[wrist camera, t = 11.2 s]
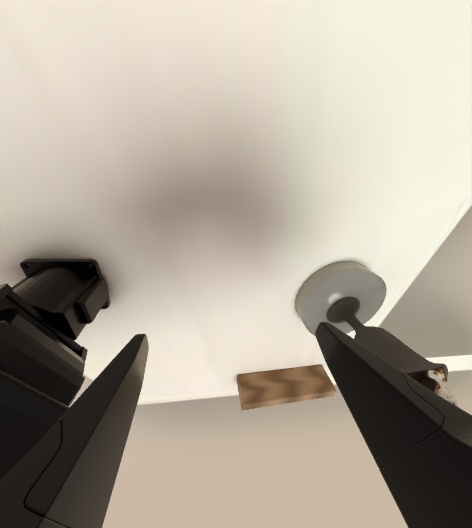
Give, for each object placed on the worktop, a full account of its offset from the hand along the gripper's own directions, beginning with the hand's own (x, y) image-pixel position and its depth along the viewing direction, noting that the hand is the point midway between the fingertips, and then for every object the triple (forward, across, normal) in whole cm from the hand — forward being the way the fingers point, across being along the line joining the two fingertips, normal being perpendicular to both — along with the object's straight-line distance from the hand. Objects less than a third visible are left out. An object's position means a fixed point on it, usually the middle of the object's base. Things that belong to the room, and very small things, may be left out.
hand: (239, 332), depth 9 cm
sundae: (+10, -18, +9) cm, 22 cm away
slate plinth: (+13, -18, +9) cm, 24 cm away
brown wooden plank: (+13, -14, +29) cm, 35 cm away
